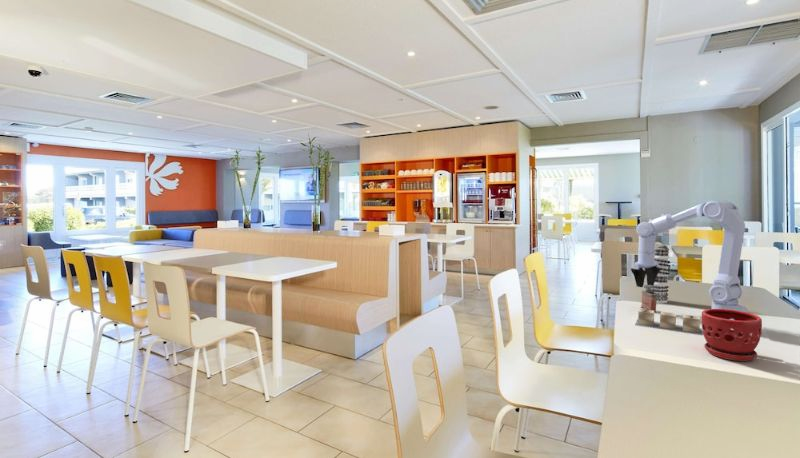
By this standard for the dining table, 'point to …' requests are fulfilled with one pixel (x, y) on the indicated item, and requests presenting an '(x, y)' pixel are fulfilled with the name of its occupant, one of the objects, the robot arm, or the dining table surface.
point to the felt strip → (678, 329)
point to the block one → (691, 323)
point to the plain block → (668, 320)
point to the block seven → (646, 317)
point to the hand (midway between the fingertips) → (645, 285)
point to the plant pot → (731, 333)
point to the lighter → (649, 299)
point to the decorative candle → (661, 273)
